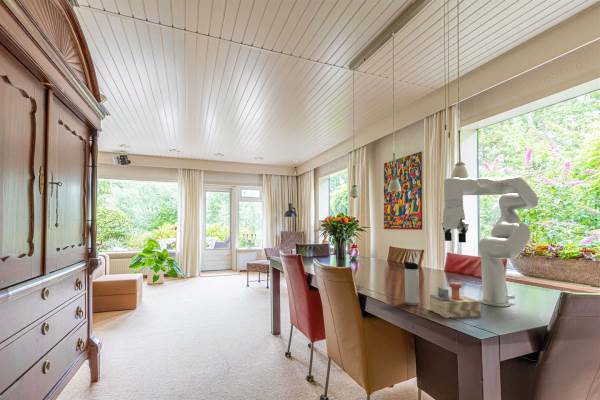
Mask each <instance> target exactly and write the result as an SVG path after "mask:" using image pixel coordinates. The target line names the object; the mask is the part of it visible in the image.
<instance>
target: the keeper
mask: <svg viewBox="0 0 600 400" xmlns="http://www.w3.org/2000/svg"><path fill="white" fill-rule="evenodd" d="M437 290H438V292H437V293H430V294H429V298H430V297H431V298H433V299H436V300H438V301H442V300H450V297H449V289H448V288H445V287H438V288H437Z"/></svg>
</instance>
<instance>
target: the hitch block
mask: <svg viewBox="0 0 600 400" xmlns="http://www.w3.org/2000/svg"><path fill="white" fill-rule="evenodd" d="M459 295H460V300H453V299H452V294H450V295H449V297H450V300H442V301H438V300H436V299H433V298H431V297H430V296H429V305H430V306H429V308H430V311H432V312H434V313H436V314H437V313H438V315H439V314H440V316H441V315H442V316H441V317H443V318H446V319H448V318H449V317H451V318H466V317H467V318H468V317H471V318H472V317H481V316H482V310H481V302H480V301H479V300H478V299H475V298H472V297H469V296H466V295H464V294H459ZM449 319H450V318H449Z"/></svg>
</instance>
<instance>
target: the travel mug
mask: <svg viewBox="0 0 600 400" xmlns="http://www.w3.org/2000/svg"><path fill="white" fill-rule="evenodd" d="M403 264H404V293H405V294H404V295H405V297H404V298H405V304H406V305H409V306H418V305H420V287H419V285H420V282H419V280H420V279H419V263H416V262H412V261H403Z"/></svg>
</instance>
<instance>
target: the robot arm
mask: <svg viewBox="0 0 600 400" xmlns="http://www.w3.org/2000/svg"><path fill="white" fill-rule="evenodd" d="M443 191H444V193H443V195H444V208H443V212H442V213H443V215H442V223H441V226H442V230H443V233H444V241H446V242H452V240H453V239H452V237H453V236H452V232H451V231H452V230H457V231H458V243H467V237H466V236H467V231H468V230H469V226H470V225H469V222H467V221H466V215H465V210H464V200H463V199H464V197H463V196H497V195H498V196H500V195H501V196H500V197H499V199H498V205H499V210H500V217H499V219H498V220H497V222H496V223H495V224H494V226H493V227H492V230H491V231H490V236H491V237H484V238H481V239H480V240H479V241H478V244H477V247H478V252H479V257H480V264H481V266H480V267H481V284H482V285H481V286H482V287H481V288H482V289H481V290H482V291H481V292H482V297H480V298H479V300H478V301H480V304H483V305H487V306H494V307H502V308H503V307H504V308H505V307H509V306H511V302H510V300H515V299H516V297H515V295H514V294H507V291H506V290H507V287H506V270H505V269H506V268H505V265H504V263H503V261H502V259H504V260H505V259H507V260H516V259H517V258H518V257H519V256H520V255H521V254H522V253H523V250H524V249H525V247H526V245H527V244H528V243H529V240H530V238H531V230H530V227H529V226H528V225H527V224H525V223H522V222H521V218H520V216H519V215H518V214H517V212H516V211H515V210H530V209H534V208H536V207H537V206H538V203H539V198H538V195H537V194H536V193H535V191H534V189H532V188H531V186H530V185H529V184H528V183H527V181H525V179H524V178H522V177H521V176H517V175H513V176H508V177H507V176H506V177H479V178H473V177H466V178H460V177H447V178H446V179H444V180H443Z"/></svg>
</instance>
